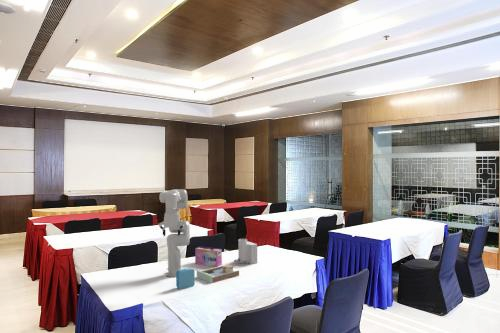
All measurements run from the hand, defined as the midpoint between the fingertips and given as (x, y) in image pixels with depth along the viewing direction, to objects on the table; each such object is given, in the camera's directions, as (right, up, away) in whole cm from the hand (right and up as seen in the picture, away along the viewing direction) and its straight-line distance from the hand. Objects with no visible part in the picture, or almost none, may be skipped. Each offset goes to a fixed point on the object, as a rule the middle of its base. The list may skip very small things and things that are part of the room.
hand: (171, 235), depth 240 cm
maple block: (+37, -34, +32) cm, 60 cm away
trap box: (+30, -36, +27) cm, 54 cm away
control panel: (+48, -36, +63) cm, 87 cm away
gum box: (+18, -37, +59) cm, 72 cm away
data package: (+9, -37, +3) cm, 38 cm away
